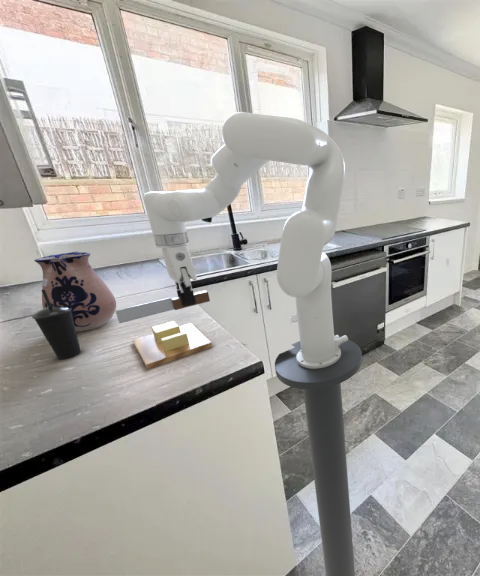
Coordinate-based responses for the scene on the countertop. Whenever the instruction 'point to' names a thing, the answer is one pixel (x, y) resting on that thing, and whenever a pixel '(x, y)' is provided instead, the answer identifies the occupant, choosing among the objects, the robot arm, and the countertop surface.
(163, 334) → the butter block
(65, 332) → the drinking cup
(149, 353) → the board
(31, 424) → the countertop surface
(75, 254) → the ceramic pitcher
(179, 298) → the knife
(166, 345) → the butter slice
